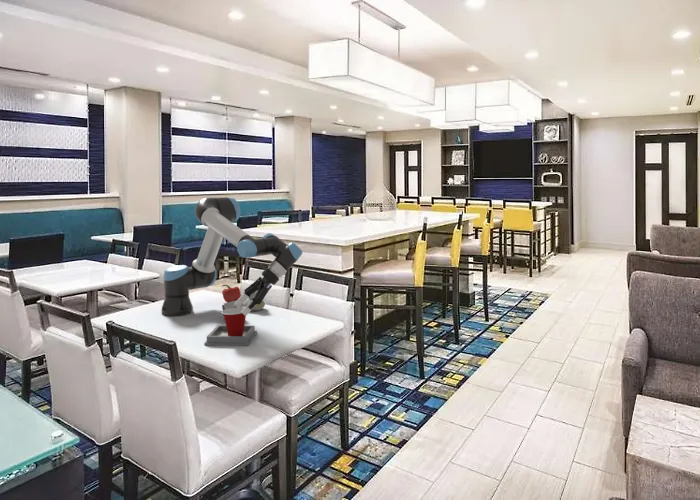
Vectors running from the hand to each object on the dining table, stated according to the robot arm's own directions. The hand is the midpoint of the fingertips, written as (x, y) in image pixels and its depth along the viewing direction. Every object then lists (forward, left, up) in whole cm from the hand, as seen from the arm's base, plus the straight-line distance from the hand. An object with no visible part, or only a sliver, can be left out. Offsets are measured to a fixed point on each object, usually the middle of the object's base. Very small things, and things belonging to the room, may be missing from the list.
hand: (239, 310), depth 210 cm
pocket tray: (+1, -3, -12) cm, 13 cm away
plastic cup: (+2, -1, -11) cm, 12 cm away
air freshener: (-48, -4, -13) cm, 50 cm away
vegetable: (-62, -19, -13) cm, 66 cm away
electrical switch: (-28, -10, -13) cm, 33 cm away
